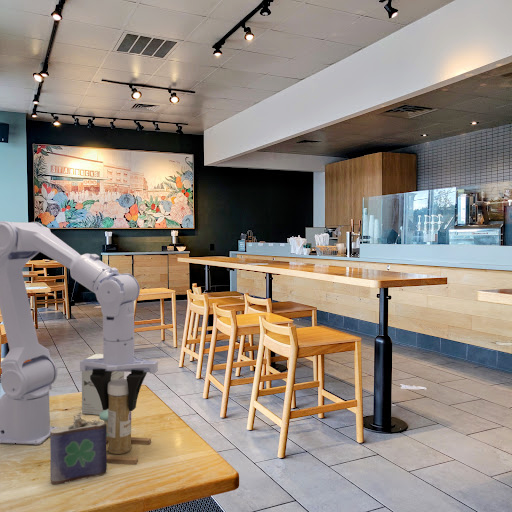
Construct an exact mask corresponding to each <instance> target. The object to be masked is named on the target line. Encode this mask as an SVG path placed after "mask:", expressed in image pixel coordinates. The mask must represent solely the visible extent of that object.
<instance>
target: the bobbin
mask: <svg viewBox="0 0 512 512" xmlns="http://www.w3.org/2000/svg"><path fill="white" fill-rule="evenodd" d="M98 416H99V420H100V421H103V422H105V424H106V426H107V428H106V433H107V436H108V410H106V411H103V412H101V413H100V414H99V415H98Z"/></svg>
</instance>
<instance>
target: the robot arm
mask: <svg viewBox="0 0 512 512" xmlns="http://www.w3.org/2000/svg"><path fill="white" fill-rule="evenodd" d="M39 253H41V254H43V255H45V256H46V257H48V258H50V259H52V260H54V261H55V262H57V263H59V264H60V265H62V266H63V267H65V268H67V269H68V270H69V272H70V277H71V278H72V279H73V280H74V281H76V283H79V284H80V285H81V286H83V287H85V288H86V289H87V290H89V291H90V292H92V293H94V294H95V297H96V300H97V302H98V304H100V309H101V310H100V311H101V314H102V345H103V346H102V352H103V353H102V354H103V358H98V359H86V358H84V359H81V360H80V362H79V370H80V371H79V372H82V371H87V370H88V371H93V373H92V375H90V380H91V381H92V383H93V384H94V386H95V388H96V390H97V392H98V394H99V397H100V400H101V404H102V408H103V410H107V409H108V397H109V396H108V392H107V389H108V383H109V382H110V381H111V374H112V371H122V372H124V373H125V372H126V373H127V372H130V373H129V374H128V375H127V376H126V379H127V383H128V391H129V405H128V406H129V411H131V412H132V411H134V410H135V409H136V408H137V402H138V398H139V393H140V390H141V387H142V384H143V383H144V380H145V378H146V376H147V374H148V373H149V374H156V373H157V372H158V371H159V370H158V369H159V367H158V365H159V363H158V362H159V361H158V360H149V359H143V358H142V359H141V358H135V301H136V300H137V299H138V297H139V295H140V292H141V291H140V290H141V289H140V288H141V287H140V283H139V282H138V280H137V278H136V277H134V276H133V274H131V273H127V272H126V273H120V272H119V269H118V268H116V267H114V266H113V267H111V266H109V265H108V264H107V263H105V262H103V261H102V260H100V255H98V254H96V253H84V254H80V253H79V252H78V251H76V250H75V249H74V248H72V247H71V246H69V245H68V244H67V243H66V242H64V241H63V240H62V239H60V238H59V237H57V236H56V235H55V234H54V233H53V232H51V229H50V228H49V227H47V226H44V225H43V224H42V223H40V222H38V221H31V222H24V221H23V222H21V221H20V222H18V221H17V222H16V221H13V222H12V221H5V220H1V221H0V314H1V318H2V322H3V326H4V327H3V328H4V331H5V334H6V335H5V336H6V340H7V344H8V345H7V346H8V349H9V351H8V353H7V354H6V355H5V357H4V358H3V360H2V361H1V362H0V368H1V378H0V384H1V389H2V391H3V392H4V394H3V395H1V396H0V444H15V443H16V445H18V444H19V445H22V444H23V445H41V444H42V443H43V442H45V441H47V439H48V438H49V437H50V432H51V431H52V430H53V429H56V428H59V426H51V424H50V420H51V419H50V417H51V415H50V412H51V411H50V391H51V390H52V387H53V386H52V385H53V384H54V383H55V382H56V380H57V376H58V367H57V365H56V363H55V362H54V360H53V358H52V356H51V354H50V350H49V349H48V348H47V347H45V346H44V345H42V344H40V343H39V340H38V336H37V329H36V326H35V322H34V319H33V318H34V317H33V314H32V309H31V306H30V301H29V296H28V291H27V288H26V287H27V286H26V281H25V279H24V274H23V269H24V267H25V266H26V264H27V263H28V262H30V261H31V260H32V259H33V258H34V257H36V256H37V255H38V254H39Z"/></svg>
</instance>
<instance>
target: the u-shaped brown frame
mask: <svg viewBox="0 0 512 512" xmlns="http://www.w3.org/2000/svg"><path fill="white" fill-rule="evenodd" d="M108 440H109V439H108V436H106V442H107V444H106V446H108V445H109V444H108ZM151 443H152V437H132V436H131V445H151ZM138 462H139V457H138V456H123V455H122V456H121V455H120V456H119V455H107V464H114V465H115V464H118V465H120V464H121V465H137V463H138Z"/></svg>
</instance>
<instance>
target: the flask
mask: <svg viewBox="0 0 512 512" xmlns="http://www.w3.org/2000/svg"><path fill="white" fill-rule="evenodd" d="M73 418H74V419H73V424H70V425H66V426H60V427H58V428H56V429H53V430H52V431H51V432H50V436H49V437H50V441H49V443H50V444H49V447H50V461H49V462H50V480H49V481H50V483H51V485H62V484H63V485H64V484H65V483H70V482H78V481H80V480H83V479H90V478H95V477H98V476H99V477H100V476H103V475H105V474H107V469H108V463H107V456H108V455H107V453H108V452H107V451H108V449H107V445H108V444H107V442H106V436H107V433H106V428H107V426H106V424H105V422H104V421H103V420H96V419H93V420H88V421H86V420H84V419H83V418H82V413H78V414H76V415H73ZM106 444H107V445H106Z"/></svg>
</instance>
